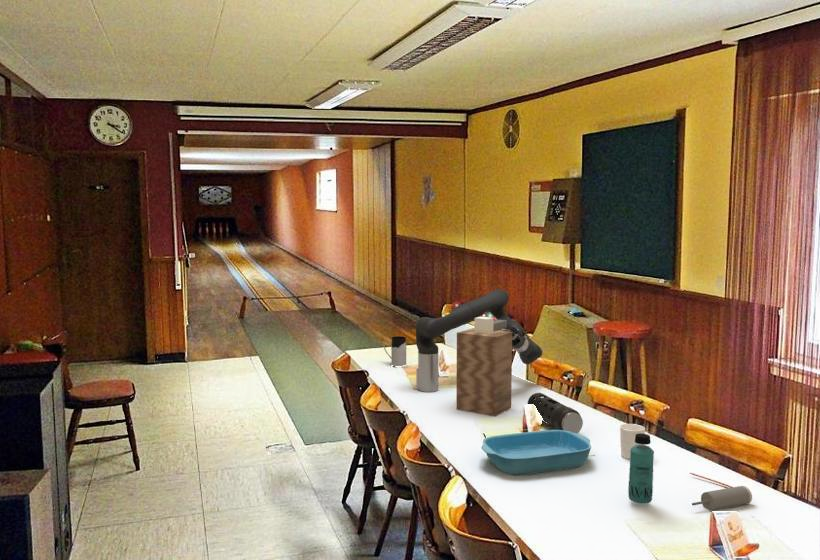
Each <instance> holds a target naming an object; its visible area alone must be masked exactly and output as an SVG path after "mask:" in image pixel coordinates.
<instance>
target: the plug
mask: <svg viewBox="0 0 820 560" xmlns="http://www.w3.org/2000/svg"><path fill="white" fill-rule="evenodd" d="M506 327H507V320H497V319H496V320H494V317H489V316H480V317H477V318H475V320H474V327H473V328H474V333H482V334H489V333H493V331H496V330H499V331H500V329H503V328H504V329H505V328H506Z"/></svg>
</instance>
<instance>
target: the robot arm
mask: <svg viewBox="0 0 820 560" xmlns="http://www.w3.org/2000/svg"><path fill="white" fill-rule="evenodd" d="M509 300H510V296H509V293H508V292H507V291H506V290H504V289H501V288H497V289H494V290H492V291H490V292H488V293H487V294H484V295H482V296H481V297H477V298H475V299H473V300H470V301H468V302H465V303H462V304H460V305H457V306H456V307H454V308H453V309H451V311H450V312H449V313H448V314H446V315H444V316H440V317H437V318H433V317H428V316H422V317H419V319H418V320H417V321H416V324H415V342H416V343H415V344H416V348H417V350H418V351H417V354H418V356H417V359H418V361H417V367H418V368H416V380H415V381H416V390H417V389H418V391H420V392H424V393H432V392H433V393H434V392H437V391H439V346H438V344H436V343H435V341H434V339H437V338H439V337H441V336H443V335H444V334H446V333H448V332H449V331H452V330H455V329H457V328H459V327H461V326H465V325H466V324H470V323H472V322H475V318H477V317H482V315H483V314H485V313H486V312H487V311H489V313H491V314H492V316H493V318H494V319H496V320H507V327H506V328H503V329H500V330H498V331H508V332H512V350H514V351H516V352H517V353H518V357H519V358H520V361H521V362H522V363H523V364H525V365H531V364H532V363H533V362H535V361H536V360H538V359H539V358H541V357H542V356H543V349H542V348H541V346H540V345H538V344H537V343H536V342H534V341H533V340H532V339H531V338H530V337H529V335H528V333H527V332H526V331H525V329H524V328H523V326H522V325H521V324H520V323H518V322H517V321H515V320H513V319H512V318H510V317H509V315H508V314H507V313H506V310H505V308H506V306H507V305H508V302H509Z"/></svg>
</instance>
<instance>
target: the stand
mask: <svg viewBox="0 0 820 560" xmlns="http://www.w3.org/2000/svg"><path fill="white" fill-rule="evenodd" d="M474 328H475V327H472V328H468V329H466V330H461V331H457V332H456V402H455V403H456V405H455V406H456V410H458V411H462V412H463V411H464V412H468V413H469V412H470V413H475V414H481V415H484V416H491V417H497V416H499V415H501V414H503V413H504V412H507V411H509V410H510V409H511V410H512V382H513V381H512V377H513V375H512V371H513V370H512V369H513V368H512V366H513V364H512V363H513V348H512V332H508V331H504V330H503V331H500V330H499V331H498V330H496V331H493V333H489V334H482V333H474Z"/></svg>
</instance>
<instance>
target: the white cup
mask: <svg viewBox="0 0 820 560" xmlns="http://www.w3.org/2000/svg"><path fill="white" fill-rule="evenodd" d="M619 429H620V430H619V433H620V439H619V441H620V456H621V457H622V458H624V459H628V460H630V453H631V452H630V449H631V448H632V447H633V446H635V445H643V444H638V443H636V442H635V435H636V434H639V433H642V434H646V428H645V426H644V425H639V424H638V423H637V424H636V423H624V424H621V425H620V426H619Z"/></svg>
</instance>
